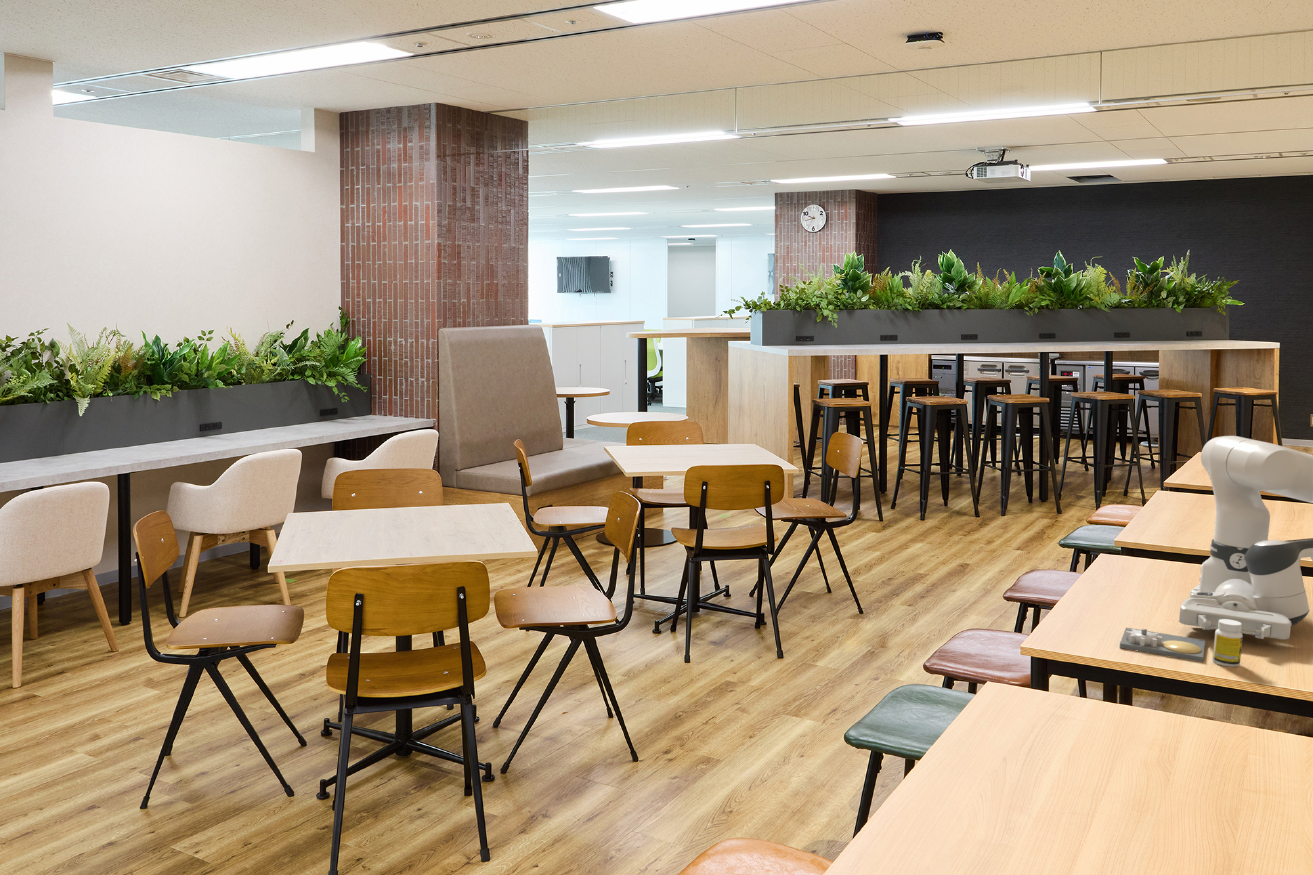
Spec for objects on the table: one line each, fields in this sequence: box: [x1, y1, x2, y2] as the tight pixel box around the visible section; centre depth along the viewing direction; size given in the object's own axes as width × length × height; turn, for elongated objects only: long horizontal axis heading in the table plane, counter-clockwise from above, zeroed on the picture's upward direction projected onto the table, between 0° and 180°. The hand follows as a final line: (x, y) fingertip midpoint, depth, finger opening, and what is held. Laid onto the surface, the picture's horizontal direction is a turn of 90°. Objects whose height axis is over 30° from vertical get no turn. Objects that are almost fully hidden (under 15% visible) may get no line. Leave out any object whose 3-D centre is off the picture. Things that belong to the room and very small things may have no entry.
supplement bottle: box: [1212, 619, 1244, 668], centre depth 199 cm, size 5×5×8 cm
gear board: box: [1119, 627, 1206, 663], centre depth 209 cm, size 12×15×4 cm
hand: (1232, 630), depth 207 cm, fingers open, 8 cm apart
